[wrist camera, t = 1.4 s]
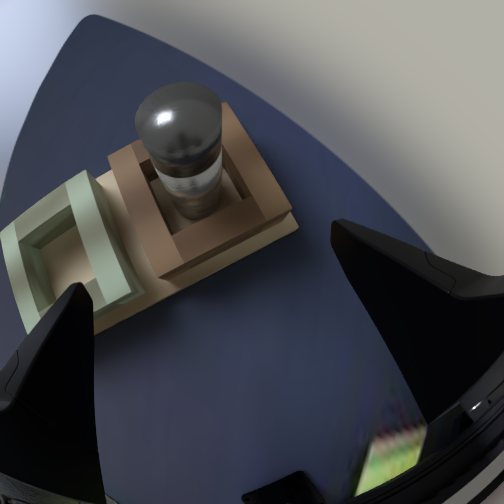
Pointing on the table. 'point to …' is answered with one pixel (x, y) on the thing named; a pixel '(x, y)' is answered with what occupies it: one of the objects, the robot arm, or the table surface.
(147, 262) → the wooden desk organizer
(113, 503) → the coffee box
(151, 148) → the shiny grey rounded piece
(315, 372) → the table surface
